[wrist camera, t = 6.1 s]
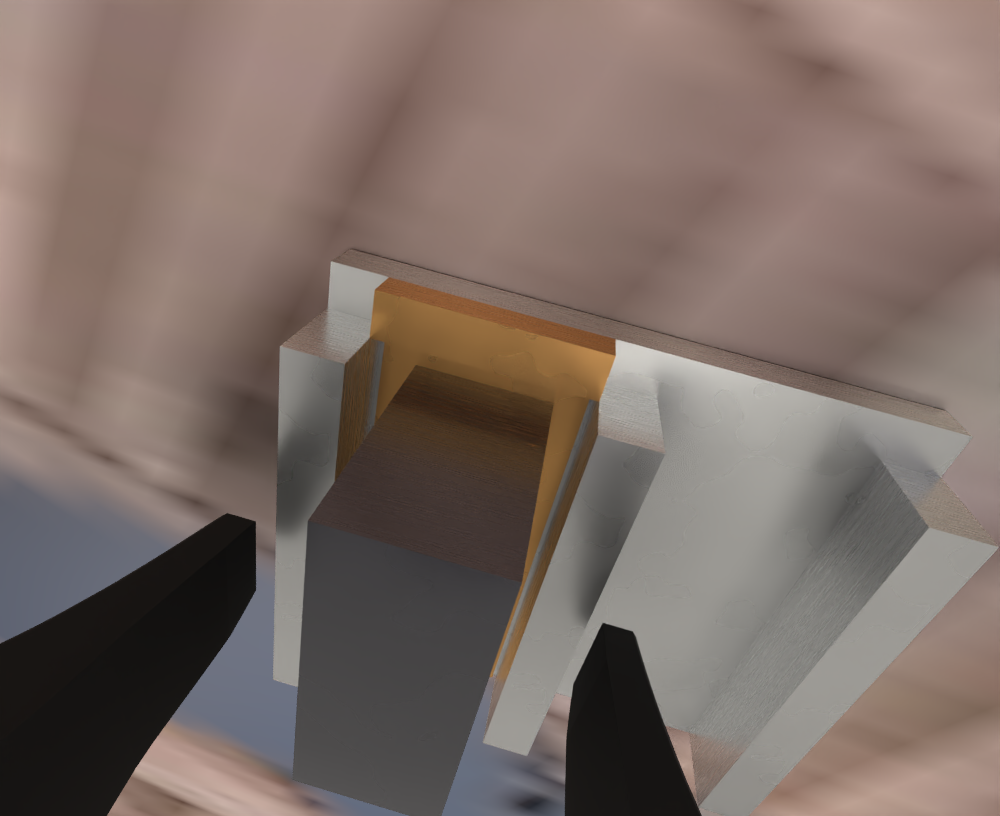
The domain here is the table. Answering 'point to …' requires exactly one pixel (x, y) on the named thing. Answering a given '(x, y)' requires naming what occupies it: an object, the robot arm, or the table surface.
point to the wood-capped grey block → (414, 588)
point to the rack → (654, 511)
